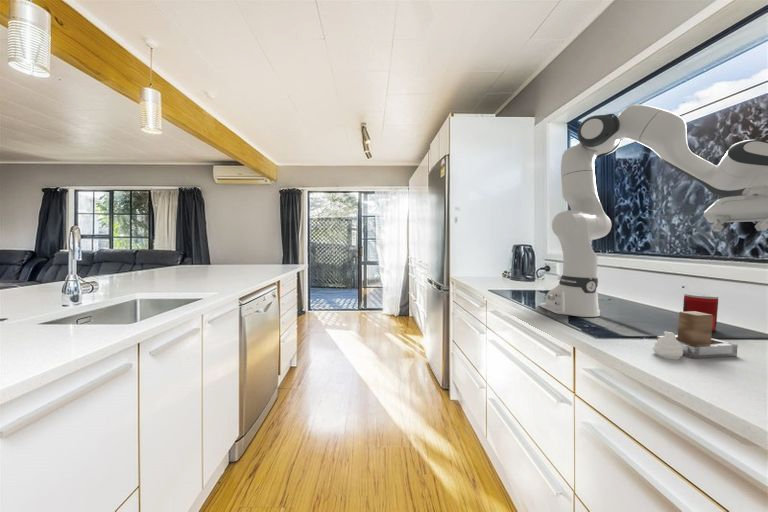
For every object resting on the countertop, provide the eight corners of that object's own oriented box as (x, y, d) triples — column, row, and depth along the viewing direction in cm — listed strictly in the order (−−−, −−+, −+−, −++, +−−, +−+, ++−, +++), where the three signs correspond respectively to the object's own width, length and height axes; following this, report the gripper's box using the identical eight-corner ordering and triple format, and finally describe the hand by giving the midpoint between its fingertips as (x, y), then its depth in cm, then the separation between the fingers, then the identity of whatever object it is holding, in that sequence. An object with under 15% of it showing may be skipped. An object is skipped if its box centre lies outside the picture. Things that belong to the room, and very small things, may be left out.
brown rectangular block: (677, 345, 85) (679, 311, 85) (692, 345, 86) (695, 311, 86) (694, 351, 81) (696, 315, 81) (710, 350, 82) (712, 314, 82)
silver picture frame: (656, 346, 87) (657, 336, 87) (696, 344, 89) (696, 334, 89) (693, 358, 78) (694, 347, 78) (736, 356, 81) (737, 344, 80)
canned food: (722, 332, 102) (725, 297, 101) (692, 330, 103) (695, 296, 103) (704, 326, 109) (706, 293, 109) (676, 324, 111) (678, 292, 110)
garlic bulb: (676, 330, 82) (689, 336, 76) (674, 353, 82) (688, 361, 77) (650, 328, 83) (662, 334, 78) (648, 351, 83) (660, 358, 78)
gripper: (716, 190, 97) (687, 222, 96) (818, 178, 77) (782, 218, 76) (726, 205, 98) (698, 237, 97) (830, 197, 78) (795, 238, 77)
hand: (736, 229), depth 86 cm, fingers open, 8 cm apart
